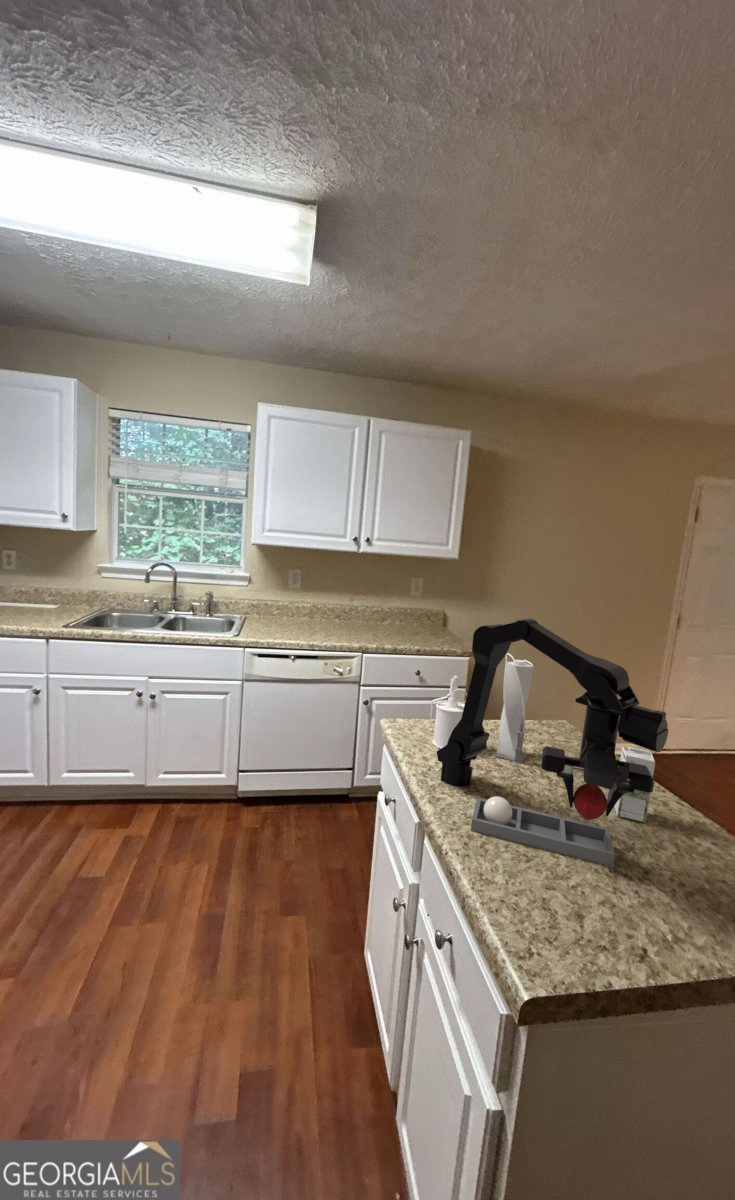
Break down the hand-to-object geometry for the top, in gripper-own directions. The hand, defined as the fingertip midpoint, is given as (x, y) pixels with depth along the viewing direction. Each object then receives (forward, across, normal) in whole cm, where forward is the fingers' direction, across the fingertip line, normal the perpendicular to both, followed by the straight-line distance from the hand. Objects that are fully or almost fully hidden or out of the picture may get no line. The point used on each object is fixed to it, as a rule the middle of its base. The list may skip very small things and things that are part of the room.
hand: (588, 810), depth 95 cm
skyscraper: (+9, -16, +40) cm, 44 cm away
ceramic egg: (+7, -16, 0) cm, 18 cm away
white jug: (+9, -33, +38) cm, 51 cm away
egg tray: (+8, -8, 0) cm, 12 cm away
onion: (+2, 0, 0) cm, 2 cm away
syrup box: (+8, +11, +20) cm, 24 cm away
